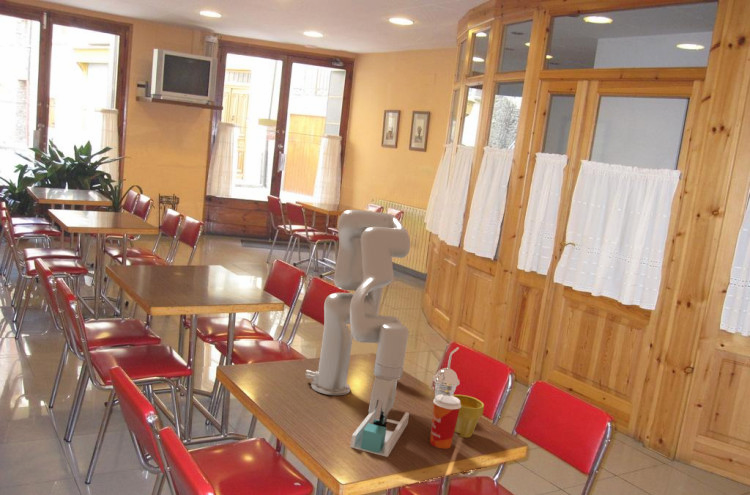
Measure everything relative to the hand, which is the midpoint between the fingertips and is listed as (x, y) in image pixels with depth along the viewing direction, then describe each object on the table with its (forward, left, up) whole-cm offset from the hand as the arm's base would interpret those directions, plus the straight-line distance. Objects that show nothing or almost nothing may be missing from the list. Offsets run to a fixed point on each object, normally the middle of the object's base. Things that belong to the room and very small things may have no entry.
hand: (378, 435), depth 174 cm
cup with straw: (+12, +36, -3) cm, 38 cm away
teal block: (0, -5, -1) cm, 5 cm away
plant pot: (+20, +22, -3) cm, 30 cm away
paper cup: (+16, +8, -3) cm, 18 cm away
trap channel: (0, +4, -2) cm, 4 cm away
